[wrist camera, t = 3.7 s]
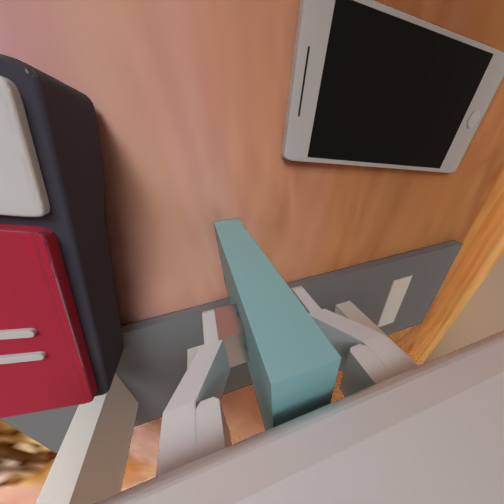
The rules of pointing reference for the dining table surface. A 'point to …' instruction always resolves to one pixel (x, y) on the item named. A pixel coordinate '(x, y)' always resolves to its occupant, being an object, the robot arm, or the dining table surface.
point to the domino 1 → (93, 450)
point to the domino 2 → (275, 332)
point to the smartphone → (384, 88)
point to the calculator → (52, 248)
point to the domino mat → (191, 335)
